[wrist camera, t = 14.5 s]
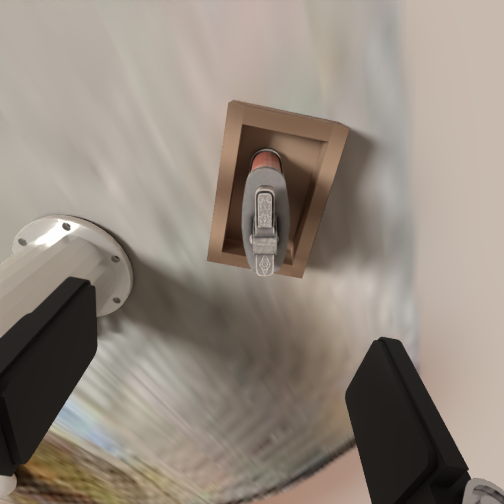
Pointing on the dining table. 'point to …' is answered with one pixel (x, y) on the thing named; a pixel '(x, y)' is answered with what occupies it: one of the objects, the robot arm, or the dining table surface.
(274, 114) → the lighter dock
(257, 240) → the lighter
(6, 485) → the flower in vase
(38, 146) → the dining table surface
